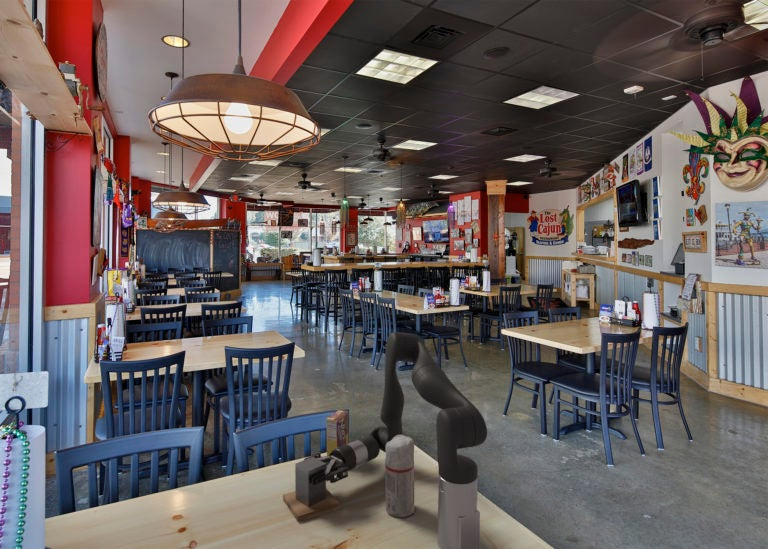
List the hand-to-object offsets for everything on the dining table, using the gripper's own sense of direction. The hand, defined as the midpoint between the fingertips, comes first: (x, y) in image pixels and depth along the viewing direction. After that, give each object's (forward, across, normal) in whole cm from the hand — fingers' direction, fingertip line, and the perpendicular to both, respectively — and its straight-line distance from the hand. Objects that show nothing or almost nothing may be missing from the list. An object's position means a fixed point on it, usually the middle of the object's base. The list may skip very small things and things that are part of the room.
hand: (304, 476), depth 121 cm
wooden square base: (-2, 0, +9) cm, 9 cm away
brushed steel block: (-2, 0, +7) cm, 8 cm away
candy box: (-25, -16, +9) cm, 31 cm away
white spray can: (-18, +20, +9) cm, 28 cm away
